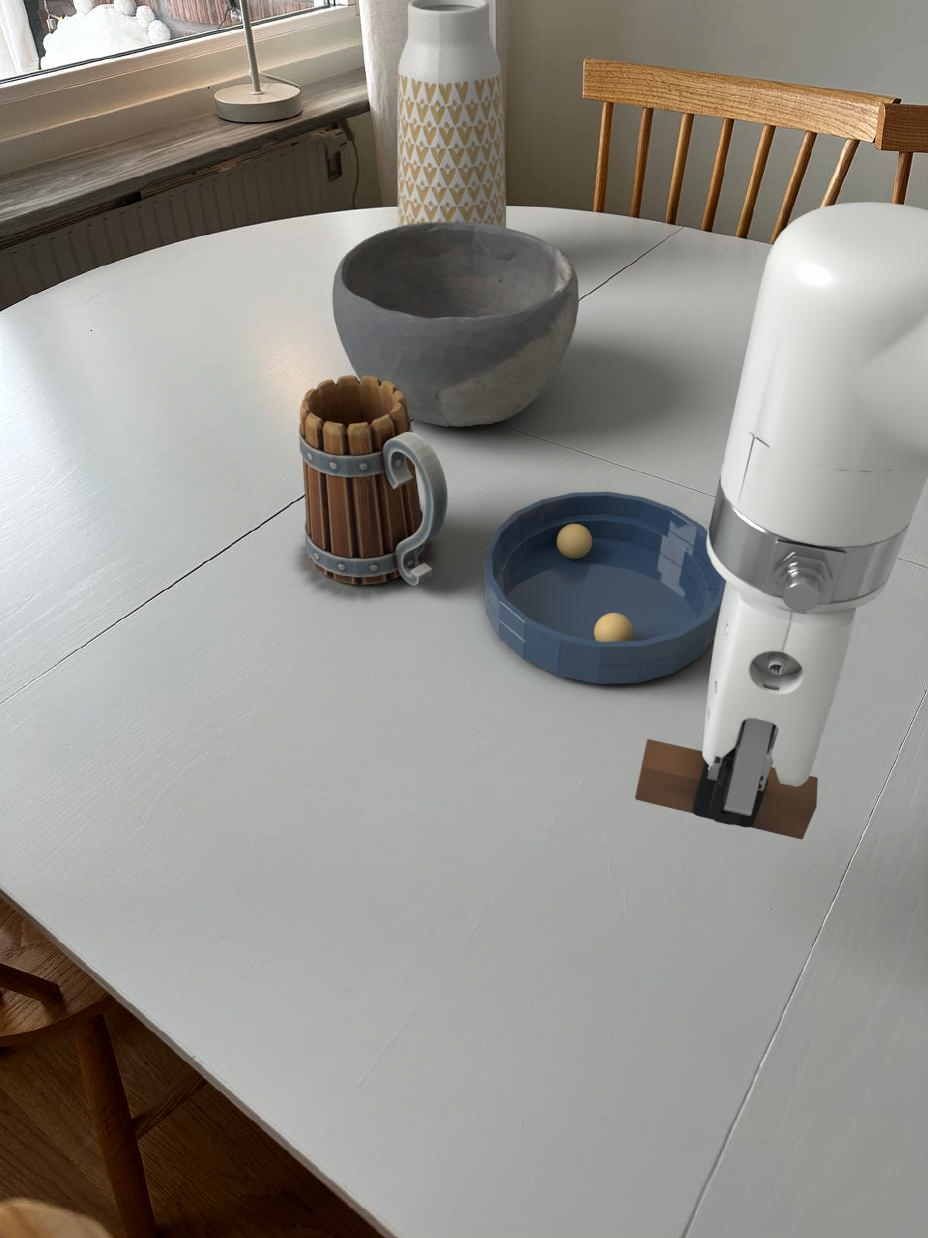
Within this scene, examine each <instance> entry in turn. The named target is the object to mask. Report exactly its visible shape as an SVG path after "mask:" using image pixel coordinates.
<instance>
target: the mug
mask: <svg viewBox="0 0 928 1238" xmlns="http://www.w3.org/2000/svg"><path fill="white" fill-rule="evenodd" d="M299 407H300V408H299V421H300V423H299V426H298V427H299V428H298V440H299V441H298V442H299V452H300V455H301V458H302V471H303V472H302V474H303V487H304V489H303V490H304V504H305V517H306V518H305V522H304V540H305V541H304V542H305V548H306V551H307V554H308V557H309V561H311V562H312V563H313V567H314V568H316V570H317V571H318V572H320V573H321V574H323V575H324V576H325V577H328V578H330V579H332V580H334V581H337V582H341V583H344V584H347V585H348V584H349V585H358V586H364V585H365V586H367V585H377V584H381V583H387V582H390V581H392V580H395V579H397V578H399V577H401V578H403V580H404V581H405V582H406V583H408V584H409V585H410V586H417V585H418V584H420V583H421V582H422V583H423V582H424V581H425V580H427V579H429V578H431V577H432V575H433V568H432V567H431V566H430V565H428V564H427V563H425V562H423V563H421V564H420V563H419V562H420V560H421V559H422V558H423V556H424V554H425V551H426V550H425V546H426V543H427V542H429V541H431V540H432V539H434V538H435V537H436V536H437V535H439V534H440V533H441V530H442V529H443V527H444V525H445V522H446V518H447V510H448V501H449V498H448V497H449V495H448V494H449V493H448V485H447V480H446V476H445V472H444V469H443V466H442V465H441V462H440V459H439V458H438V456H437V454H436V452H435V450H434V449H433V447H431V445H430V444H429V443H428V442H427V440H425V438H423V437H421V436H420V435H419V434H417V433H414V432H413V427H412V419H410V417H409V415H408V411H407V403H406V399H405V398H404V396H403V394H402V392H400V391H399V390H398V389H397V387H396V385H395V384H393V383H391V382H390V381H383V382H382V383H381V381H380V380H379V379H378V378H377V377H374V376H363V377H362V379H361V381H360V379H359V378H358V376H357V375H353V374H350V375H342V376H340V377H338V379H337V381H336V382H335V381H334V380H333V379H325V380H323V381H321V382H319V383H318V384H317V387H316V388H311V389H308V390H307V392H306V393H305V394H304V396H303V399H302V401H301V405H300V406H299ZM417 473H418V476H419V479H420V481H421V484H422V485H421V486H422V488H423V489H422V490H423V498H424V499H423V500H424V502H423V503H424V504H423V511H422V508H421V500H420V493H419V492H420V491H419V485H418V478H417Z"/></svg>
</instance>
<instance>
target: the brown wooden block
mask: <svg viewBox="0 0 928 1238" xmlns="http://www.w3.org/2000/svg"><path fill="white" fill-rule="evenodd" d="M702 751H703V750H699V749H694V748H690V747H685V746H681V745H677V744H673V743H667V742H664V741H660V740H654V739H651V738H647V740H646V742H645V746H644V753H643V756H642V761H641V765H640V770H639V775H638V780H637V785H636V790H635V794H634V800H636V801H639V802H643V803H648V804H652V805H656V806H660V807H665V808H667V809H672V810H676V811H680V812H681V811H682V812H685V813H689V814H693V812H692V809H693V802H694V799H695V795H696V791H697V787H698V783H699V779H700V775H701V772H702V768H703V764H704V760H705V759H704V758H703V756H702ZM726 758H728V757H726ZM731 759H733V758H731ZM818 782H819V778H818V777H817V776H813V775H809V778H808V780H807V781H806V782H805V783H803V784H802V785H800V786H798V787H795V786H791V785H785V784H780V782H779V779H778V776H777V773H776V770H775V766H772V767H771V770H770V773H769V778H768V784H767V787H766V790H765V793H764V796H763V799H762V802H761V805H760V808H759V811H758V814H757V817H756V819H755V822H754V825H753V826H752V827H750V828H751V829H755V830H760V831H764V832H768V833H772V834H776V835H781V836H785V837H789V838H793V839H797V840H804V837H805V835H806V832H807V830H808V828H809V826H810V823H811V821H812V818H813V816H814V813H815V812H816V809H817V807H818V805H817V804H818V786H819V785H818V784H819V783H818Z"/></svg>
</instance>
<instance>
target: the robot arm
mask: <svg viewBox="0 0 928 1238" xmlns="http://www.w3.org/2000/svg"><path fill="white" fill-rule="evenodd" d="M763 268H764V269H763V273H762V276H761V279H760V285H759V290H758V294H757V299H756V304H755V308H754V314H753V318H752V322H751V328H750V332H749V338H748V342H747V347H746V351H745V357H744V361H743V366H742V371H741V375H740V380H739V385H738V389H737V395H736V399H735V400H736V401H735V405H734V408H733V412H732V413H733V414H732V418H731V424H730V427H729V432H728V435H727V436H728V438H727V442H726V446H725V452H724V456H723V460H722V464H721V469H720V475H719V480H718V484H717V489H716V494H715V498H714V503H713V508H712V513H711V517H710V522H709V527H708V529H707V532H708V535H707V541H706V545H707V552H708V556H709V558H710V560H711V562H712V564H713V566H714V567H715V569H716V570H717V572H718V573H719V574H720V575H721V576H722V577H723V578H724V579H725V580H726V585H725V590H724V594H723V599H722V604H721V609H720V614H719V618H718V624H717V629H716V634H715V638H714V641H713V646H712V647H713V648H712V655H711V662H710V670H709V678H708V686H707V696H706V708H705V718H704V728H703V740H702V741H703V742H702V750H701V751H702V756H703V758H704V759H705V760H704V764H703V768H702V772H701V775H700V779H699V783H698V787H697V791H696V795H695V799H694V802H693V809H692V812H693V813H692V814H693V815H694V816H697V817H698V818H699V817H700V818H704V819H709V820H712V821H714V822H716V823H720V824H724V825H729V826H730V825H731V826H738V827H742V828H751V827H752V826H753V825H754V822H755V819H756V817H757V814H758V811H759V808H760V805H761V802H762V799H763V796H764V793H765V790H766V787H767V784H768V778H769V773H770V770H771V767H774V768H775V770H776V773H777V776H778V779H779V782H780V784H785V785H791V786H795V787H798V786H800V785H802V784H803V783H805V782H806V781H807V780H808V778H809V776H811V772H812V769H813V766H814V763H815V759H816V756H817V753H818V750H819V746H820V743H821V740H822V737H823V733H824V732H825V731H824V729H825V727H826V725H827V722H828V718H829V715H830V712H831V709H832V705H833V702H834V698H835V695H836V692H837V689H838V685H839V682H840V678H841V674H842V671H843V667H844V664H845V660H846V656H847V652H848V648H849V644H850V640H851V639H850V638H851V635H852V632H853V626H854V621H855V616H856V611H857V608H859V607H862V606H865V605H866V604H868V603H870V602H872V601H874V599H876V598H877V597H878V596H879V595H881V593H882V592H883V590H884V589H885V588H886V586H887V584H888V582H889V578H890V576H891V573H892V571H893V569H894V565H895V563H896V562H897V558H898V556H899V554H900V552H901V551H900V550H901V548H902V546H903V543H904V540H905V538H906V535H907V532H908V531H909V527H910V525H911V523H912V520H913V515H914V513H915V510H916V509H917V505H918V504H919V500H920V499H921V495H922V493H923V490H924V487H925V486H926V483H927V481H928V209H925V208H920V207H916V206H911V205H906V204H899V203H890V202H879V201H878V202H875V201H869V202H868V201H867V202H865V201H864V202H863V201H862V202H861V201H860V202H859V201H858V202H846V203H838V204H833V205H826V206H822V207H820V208H819V207H818V208H815V209H813V210H811V211H808V212H807V213H805V214H803V215H801V216H799V217H797V218H795V219H794V220H793V221H792V222H791V223H789V224H788V225H787V226H786V227H785V228H784V229H782V231H781V232H780V233H779V235H778V236H777V238H776V239H775V241H774V243H773V245H772V247H771V248H770V250H769V252H768V255H767V258H766V261H765V264H764V267H763ZM726 757H728V758H726ZM731 758H733V759H731Z"/></svg>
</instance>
